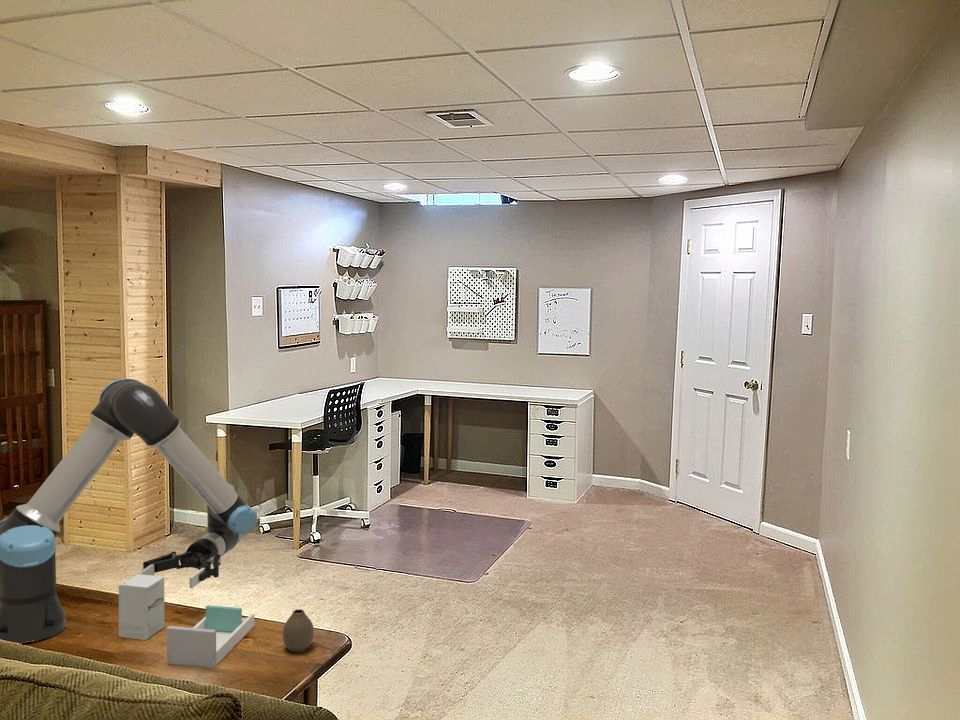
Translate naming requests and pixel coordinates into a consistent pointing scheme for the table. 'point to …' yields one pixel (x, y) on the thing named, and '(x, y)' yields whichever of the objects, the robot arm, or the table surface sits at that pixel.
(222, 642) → the tray
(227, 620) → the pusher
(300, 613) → the vase
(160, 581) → the supplement box
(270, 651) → the table surface
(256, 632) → the table surface
